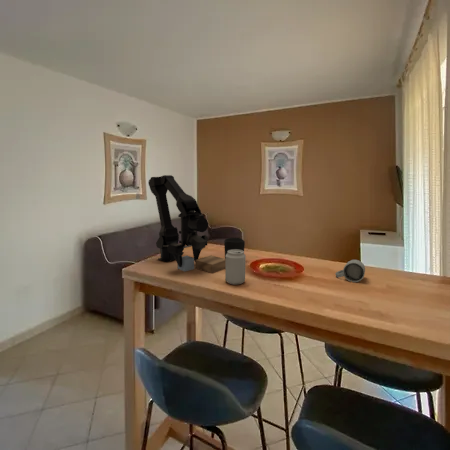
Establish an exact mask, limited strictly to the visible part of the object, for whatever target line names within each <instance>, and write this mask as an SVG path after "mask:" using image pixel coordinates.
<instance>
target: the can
mask: <svg viewBox="0 0 450 450" xmlns="http://www.w3.org/2000/svg"><path fill="white" fill-rule="evenodd" d="M227 252H228V253H227V254H226V268H225V269H224V271H225V273H224V274H225V276H224V277H225V282H227V284H230V285H236V286H237V285H241V284H243V283H244V282H245V281H246V262H247V261H246V259H247V258H246V257H247V256H246V254H245V250H244V251H242V250H235V249H234V250H228V251H227Z"/></svg>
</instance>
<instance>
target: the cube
mask: <svg viewBox="0 0 450 450" xmlns="http://www.w3.org/2000/svg"><path fill="white" fill-rule="evenodd" d="M179 269H180V271H182V272H188V271H193V270H194V269H195V261H194V256H190V255H184V256H183V255H182V267H179V265H178V264H177V270H179Z"/></svg>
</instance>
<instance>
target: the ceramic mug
mask: <svg viewBox="0 0 450 450" xmlns="http://www.w3.org/2000/svg"><path fill="white" fill-rule="evenodd" d="M365 274H366V266H365V265H364V263H363V262H362V261H361V260H358V259H351V260H349V261H347V262H346V264H345V265H344V267H343V269H342V270H338V271H336V272H335V277H336V278H345V279H346V280H347V282H348V281H349V282H351V281H352V282H351V283H359V282H360V281H362V280H364V277H365Z"/></svg>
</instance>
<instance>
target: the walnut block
mask: <svg viewBox="0 0 450 450" xmlns="http://www.w3.org/2000/svg"><path fill="white" fill-rule="evenodd" d="M225 268H226V259H225V257H219V256H215V255H212V254H211V255H207V256H204V257H199V258H198V259H197V260H195V261H194V269H197V270H200V271H202V272H203V271H204V272H207V273H211V274H214V273H218V272H221V271H223V270H225Z"/></svg>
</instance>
